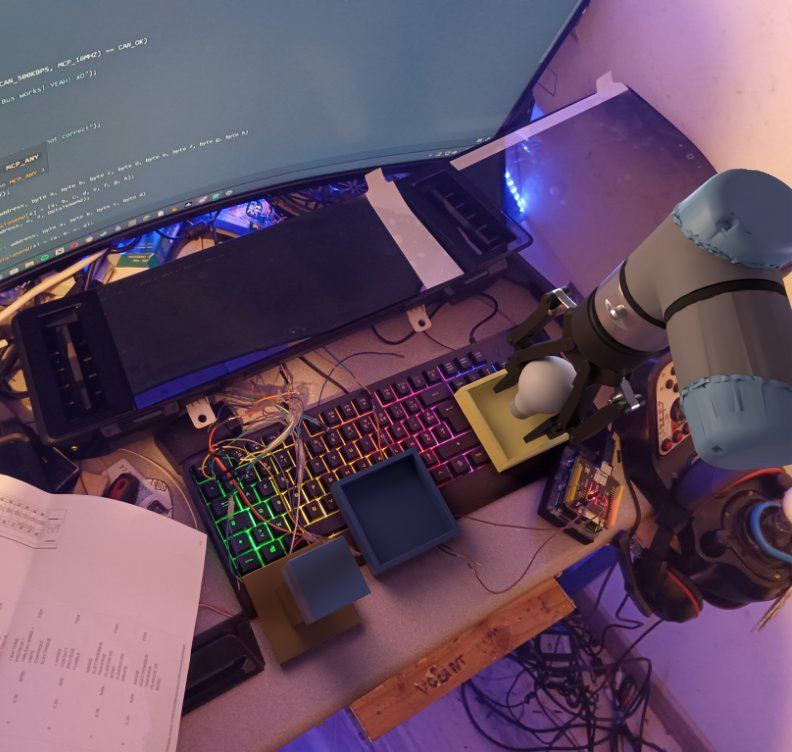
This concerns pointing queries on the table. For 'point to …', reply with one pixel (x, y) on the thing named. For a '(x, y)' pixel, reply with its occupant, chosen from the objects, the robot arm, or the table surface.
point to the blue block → (325, 580)
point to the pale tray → (502, 422)
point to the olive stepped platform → (291, 611)
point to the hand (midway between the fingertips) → (518, 411)
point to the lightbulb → (543, 387)
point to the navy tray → (394, 510)
